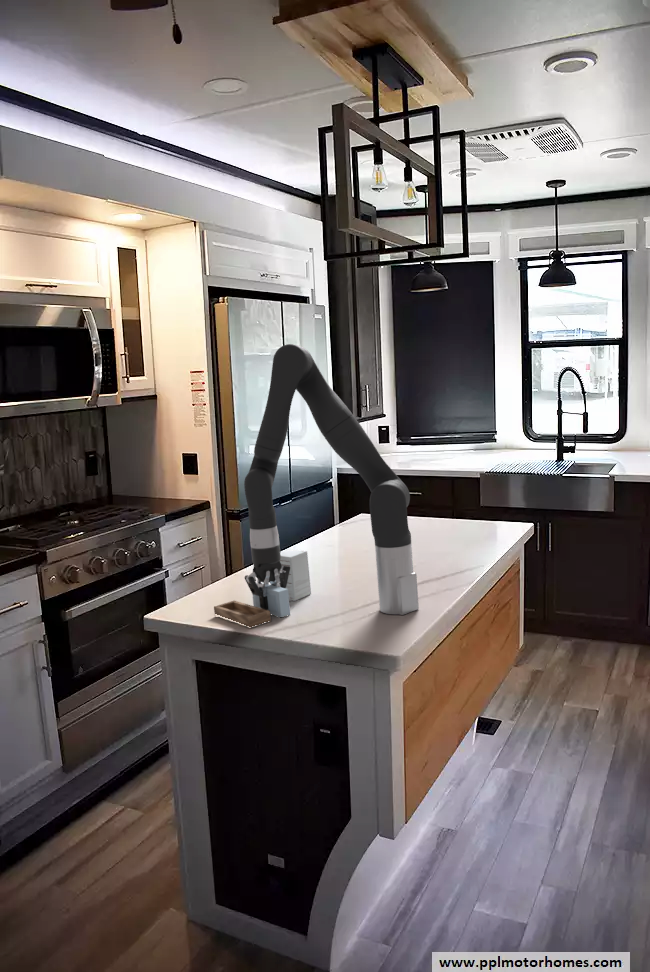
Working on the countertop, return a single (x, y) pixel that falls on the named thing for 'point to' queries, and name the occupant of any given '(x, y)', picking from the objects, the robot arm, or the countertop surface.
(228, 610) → the wooden tray
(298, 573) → the supplement box
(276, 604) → the light blue rectangular block
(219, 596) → the countertop surface
